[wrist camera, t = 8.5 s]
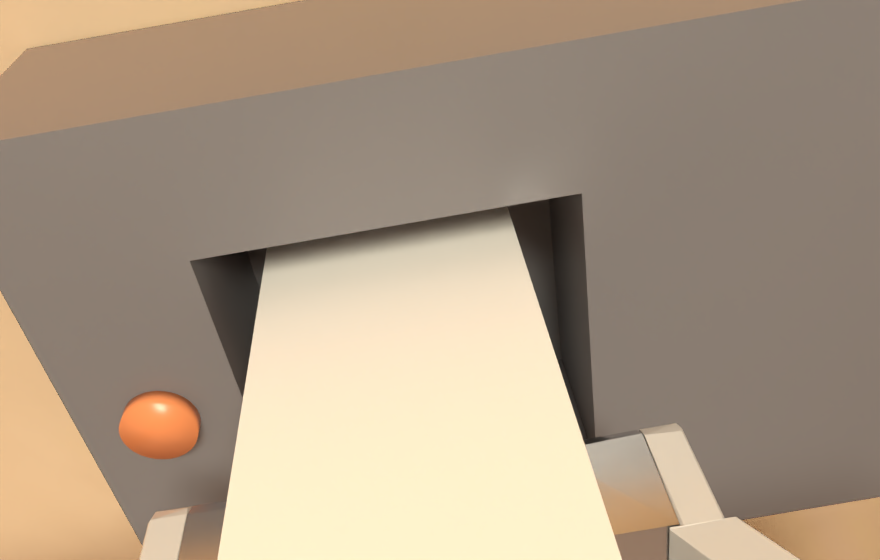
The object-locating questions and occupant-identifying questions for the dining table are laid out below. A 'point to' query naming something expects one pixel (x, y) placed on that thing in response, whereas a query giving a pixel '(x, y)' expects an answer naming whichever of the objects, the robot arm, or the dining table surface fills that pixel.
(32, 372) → the dining table surface
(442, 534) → the plug
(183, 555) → the robot arm
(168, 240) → the power strip
